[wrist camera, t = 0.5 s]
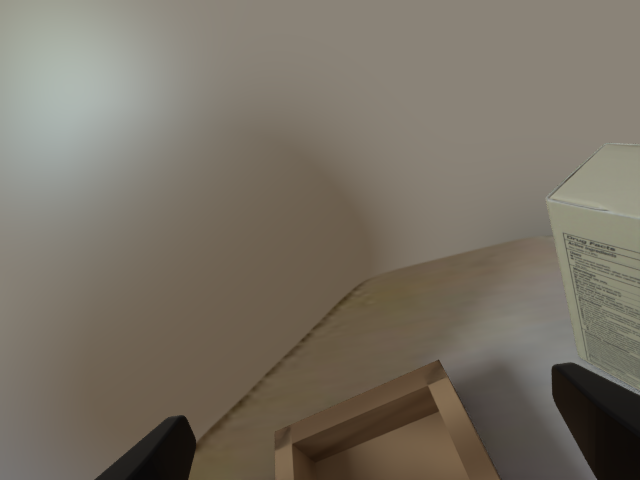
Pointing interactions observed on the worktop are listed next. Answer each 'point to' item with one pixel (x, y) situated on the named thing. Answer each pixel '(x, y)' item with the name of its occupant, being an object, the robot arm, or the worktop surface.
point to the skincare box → (602, 257)
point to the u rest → (388, 436)
